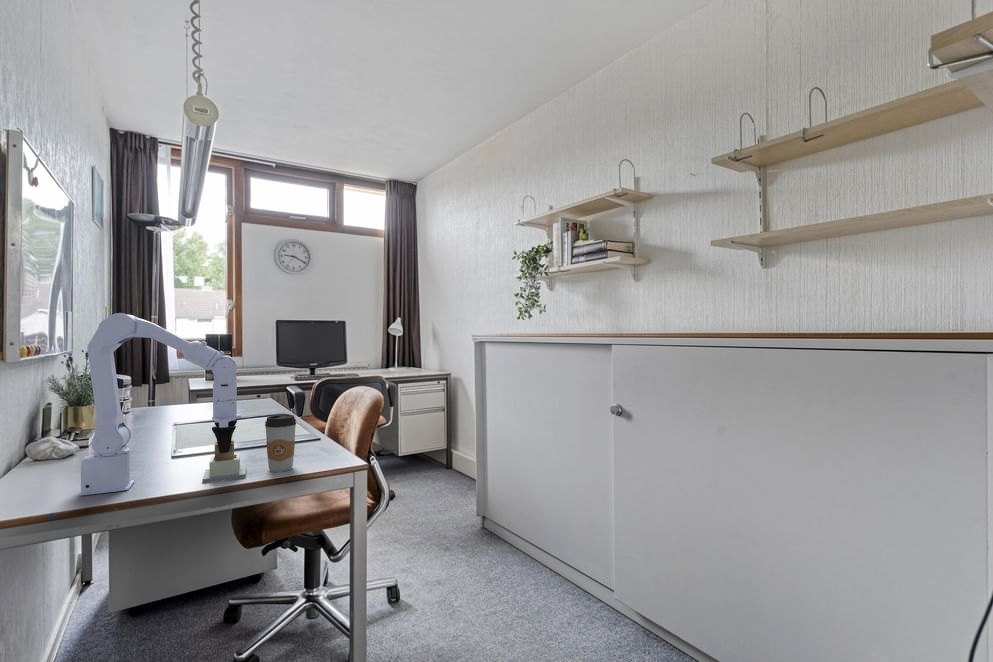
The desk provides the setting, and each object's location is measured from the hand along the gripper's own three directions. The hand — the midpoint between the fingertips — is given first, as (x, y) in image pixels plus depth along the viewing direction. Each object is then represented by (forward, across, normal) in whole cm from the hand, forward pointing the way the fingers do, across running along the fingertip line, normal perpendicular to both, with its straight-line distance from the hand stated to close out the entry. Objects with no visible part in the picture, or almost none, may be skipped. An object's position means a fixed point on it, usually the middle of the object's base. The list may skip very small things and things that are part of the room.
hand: (225, 449), depth 136 cm
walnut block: (+3, 0, 0) cm, 3 cm away
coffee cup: (+7, 0, -14) cm, 16 cm away
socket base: (+7, 0, 0) cm, 7 cm away
